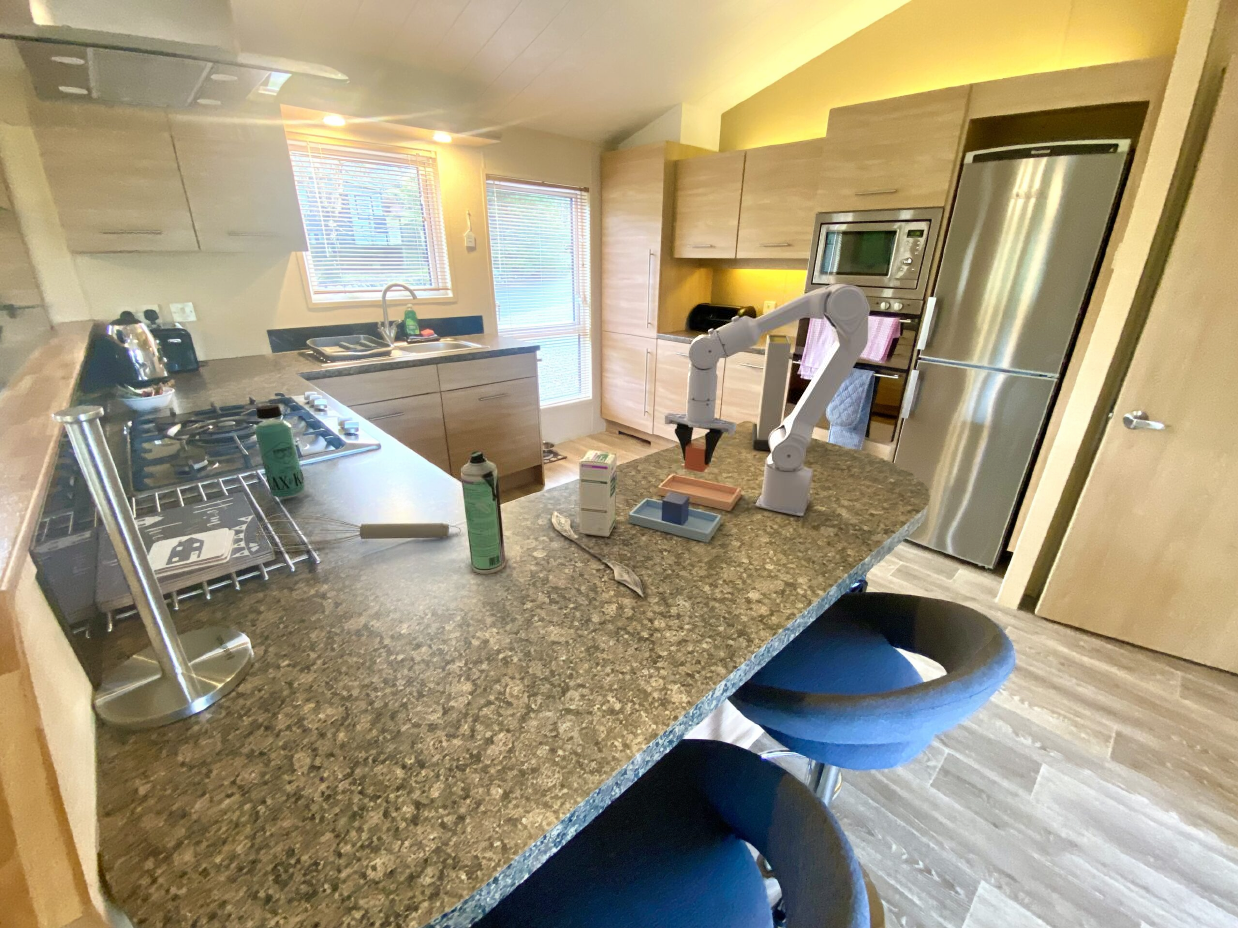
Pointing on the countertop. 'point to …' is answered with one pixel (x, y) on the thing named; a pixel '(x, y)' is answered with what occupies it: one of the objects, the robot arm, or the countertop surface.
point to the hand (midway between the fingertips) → (697, 461)
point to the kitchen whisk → (373, 531)
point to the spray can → (483, 514)
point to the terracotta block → (695, 456)
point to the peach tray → (701, 491)
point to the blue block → (675, 508)
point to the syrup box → (597, 493)
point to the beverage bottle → (278, 453)
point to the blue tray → (695, 527)
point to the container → (772, 389)
